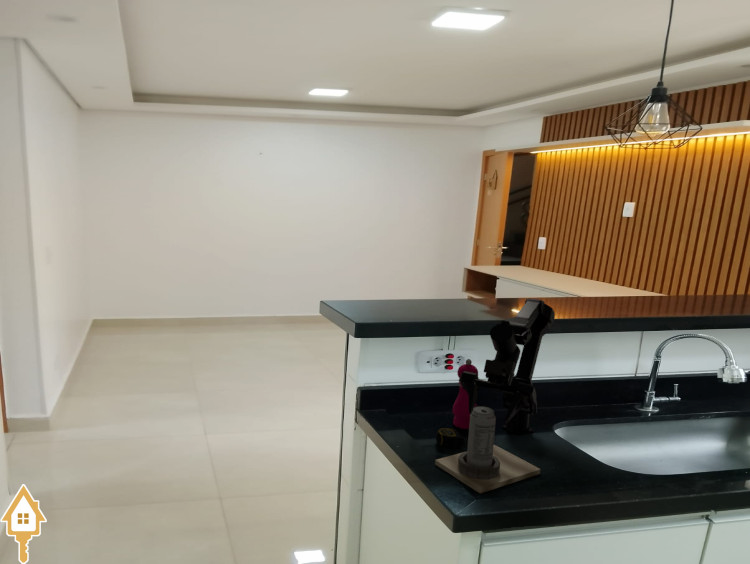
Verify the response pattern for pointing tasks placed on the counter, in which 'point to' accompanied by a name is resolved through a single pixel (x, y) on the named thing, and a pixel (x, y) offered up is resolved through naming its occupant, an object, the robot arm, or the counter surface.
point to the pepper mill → (463, 399)
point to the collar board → (506, 470)
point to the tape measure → (449, 438)
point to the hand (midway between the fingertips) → (487, 417)
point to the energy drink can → (481, 437)
